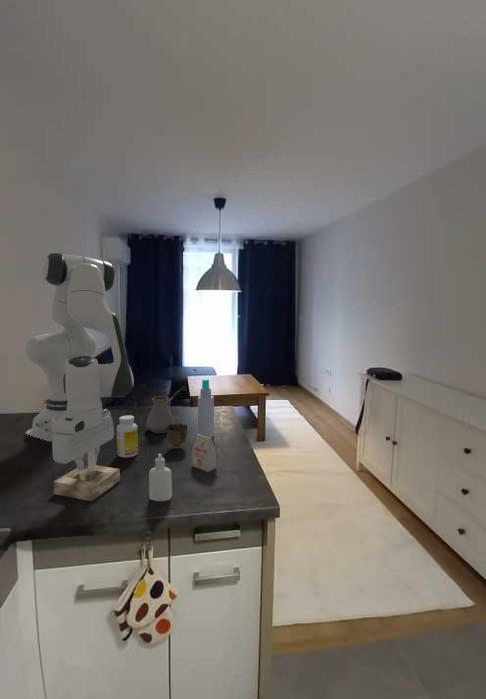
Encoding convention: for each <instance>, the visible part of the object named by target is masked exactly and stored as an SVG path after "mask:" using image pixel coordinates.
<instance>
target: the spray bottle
mask: <svg viewBox="0 0 486 699" xmlns="http://www.w3.org/2000/svg"><path fill="white" fill-rule="evenodd" d="M201 384H202V386H201V387H202V388H200V391H199V392H200V394H199V396H197V434H198V435H202V436H205V437H208V438H212V439H213V437H215V396H213V395H212V389H211V387H210V379H208V378H204V379H202V382H201Z"/></svg>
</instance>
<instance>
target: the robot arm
mask: <svg viewBox="0 0 486 699" xmlns="http://www.w3.org/2000/svg"><path fill="white" fill-rule="evenodd" d="M42 273H43V275H44V279H45V281H46V282H48V284H50V285H53V286H55V290H54V295H53V300H52V306H51V307H52V308H51V318H52V320H53V321H54V322H55V323H56V324H58V325H59V326H61V327H62V331H61V332H55V333H43V334H38V335H34V336H31V337H30V338H29V339H28V340H27V342H26V344H25V349H24V350H25V351H24V352H25V355H26V357H27V359H28V360H29V361H30V362H31V363H33V364H35V365H36V366H37V367H39V368H40V369H41V370H42V371H43V374H44V375H45V377H46V380H47V386H48V396H49V398H48V399H46V400H45V399H44V402H43V404H46V406H45V408H44V409H43V410H42V411H40V412H39V413H38V414H37V415H36V416H35V417H34V418H33V419H32V428H30V429H28V430H27V431H25V435H26V434H27V435H26V436H28V435H30V436H29V437H31V436H33V437H32V438H35V437H36V438H35V439H38V438H40V439H39V440H42V439H43V440H42V441H45V440H46V441H45V442H51V444H52V445H51V446H52V447H51V448H52V450H51V451H52V458H53V461H55V463H58V464H62V465H64V464H65V465H66V464H69V463H70V462H72V461H74V462H75V464H76V468H77V469H78V470H80V471H82V470H84V469H85V468H86V462H83V461H82V458H83V455H84V454H85V453H87V452H89V451H91V450H93V449H95V456H96V463H97V462H98V456H99V453H100V449H101V448H100V447H101V446H102V445H105V443H108V442H110V441H111V440H113V439H114V436H115V426H114V422H113V418H112V416H111V415H112V414H111V411H110V410H109V409H107V408H105V409H104V408H103V403H102V400H101V398H110V397H111V398H124V397H126V396H127V395H129V393H131V391H133V388H134V384H135V383H134V382H135V378H134V374H133V372H132V368H131V366H130V364H129V360H128V355H127V354H128V353H127V350H126V345H125V341H124V336H123V333H122V328H121V325H120V321H119V317H118V316H117V314H116V313H114V312H112V311H111V309H109V307H108V305H107V304H108V303H107V298H106V296H107V295H106V292H108V291H110V290H111V289H113V288H112V287H113V286H114V283H115V280H116V272H115V267H114V265H112V263H111V262H108V261H106V260H99V259H96V258H92V257H89V256H84V255H82V256H81V255H76V254H75V255H74V254H63V253H62V252H51V253H49V254H48V255H47V256H46V258H45V260H44V262H43V265H42ZM88 329H89V330H93V331H96V332H99V333H101V334H102V335H104V336H106V338H108V339H109V344H110V348H111V349H110V350H111V352H112V356H113V362H111V363H105V364H104V363H102V364H101V363H100V364H99V361H98V359H97V357H93V355H94V354H95V353H96V351H97V340H96V339H95V336H93V334H91V333H90V332H89V331H88ZM66 362H67V363H66Z"/></svg>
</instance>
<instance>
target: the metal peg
mask: <svg viewBox="0 0 486 699" xmlns="http://www.w3.org/2000/svg"><path fill="white" fill-rule="evenodd" d="M82 461H83V462H86V468H85V469H84V470H82V471H80V470H79V471H80V480H84V481H91V480H93V479H94V478H96V465H97V462H96V456H95V449H93V450H91V451H89V452H87V453H85V454H84V455H83V458H82Z"/></svg>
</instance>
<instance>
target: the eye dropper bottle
mask: <svg viewBox="0 0 486 699" xmlns="http://www.w3.org/2000/svg"><path fill="white" fill-rule="evenodd" d="M154 463H155V464H154V467H152V468H151V469H150V470H149V472H148V488H149V489H148V490H149V500H151V501H155V502H167V501H170V500H171V499H172V496H173V481H172V480H173V479H172V469H171V468H169V467H166V459H165V458H164V457H163V456H162V454H161V453H158V456H157V457H156V458H155V460H154Z"/></svg>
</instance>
